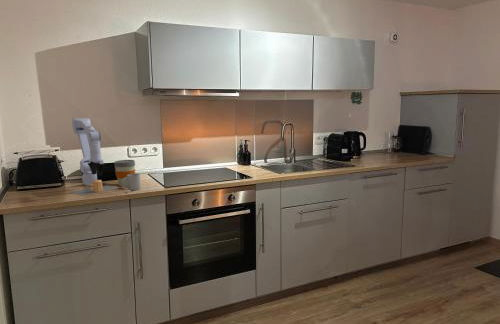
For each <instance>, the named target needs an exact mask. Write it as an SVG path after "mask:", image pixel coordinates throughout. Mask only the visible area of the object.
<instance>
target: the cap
mask: <svg viewBox="0 0 500 324" xmlns="http://www.w3.org/2000/svg"><path fill="white" fill-rule="evenodd" d="M102 186H103V181H102V179H97V180H94V181H92V188H93V192H98V193H102V192H101V191H103V187H102ZM103 192H104V191H103Z"/></svg>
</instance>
